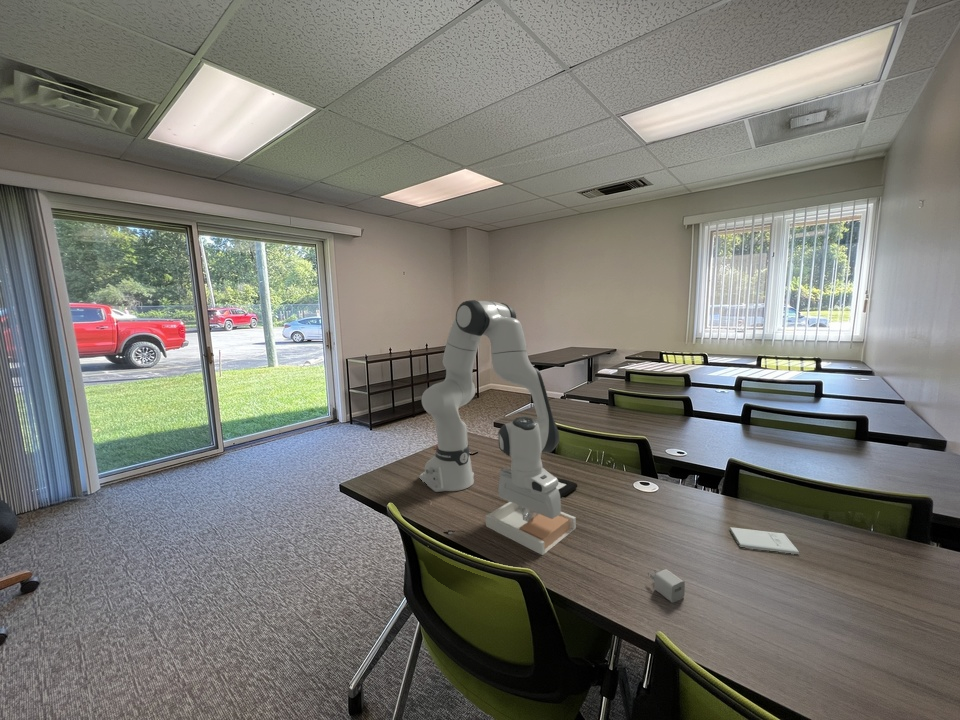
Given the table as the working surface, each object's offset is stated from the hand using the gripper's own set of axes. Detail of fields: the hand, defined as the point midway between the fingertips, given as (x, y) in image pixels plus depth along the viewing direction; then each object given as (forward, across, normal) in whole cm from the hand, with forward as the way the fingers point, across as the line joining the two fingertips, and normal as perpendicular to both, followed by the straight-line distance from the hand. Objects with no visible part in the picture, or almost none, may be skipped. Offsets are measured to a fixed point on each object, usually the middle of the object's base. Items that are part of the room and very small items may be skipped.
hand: (528, 521), depth 108 cm
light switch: (+3, -9, +22) cm, 24 cm away
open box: (+2, 0, 0) cm, 2 cm away
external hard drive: (+4, +49, +35) cm, 60 cm away
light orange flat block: (+2, +6, 0) cm, 6 cm away
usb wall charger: (+3, +37, +1) cm, 37 cm away
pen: (+3, -10, -12) cm, 16 cm away
